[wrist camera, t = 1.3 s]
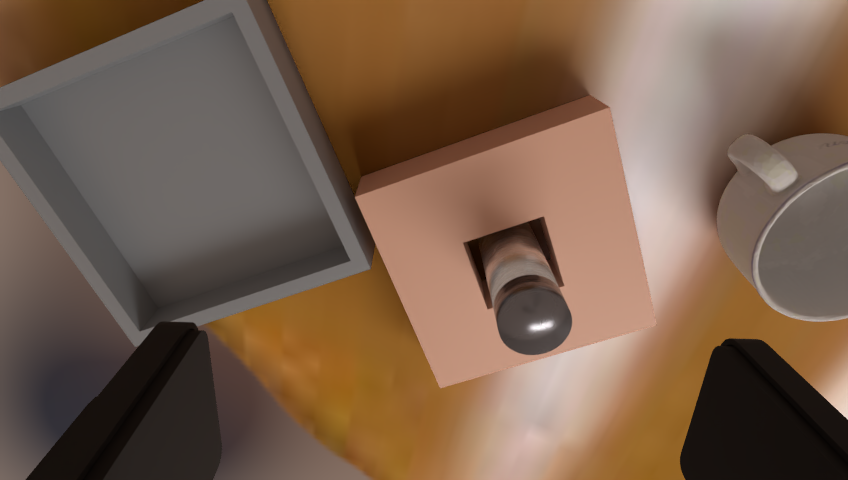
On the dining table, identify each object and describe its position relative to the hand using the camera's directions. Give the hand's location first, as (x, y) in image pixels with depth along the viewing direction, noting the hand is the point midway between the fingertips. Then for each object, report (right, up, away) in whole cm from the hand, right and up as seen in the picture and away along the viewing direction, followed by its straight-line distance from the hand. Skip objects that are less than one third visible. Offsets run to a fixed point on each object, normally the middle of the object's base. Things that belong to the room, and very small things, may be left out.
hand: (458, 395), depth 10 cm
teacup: (+23, +7, +28) cm, 36 cm away
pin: (+5, +3, +29) cm, 30 cm away
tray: (-16, +8, +27) cm, 32 cm away
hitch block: (+5, +3, +29) cm, 30 cm away
